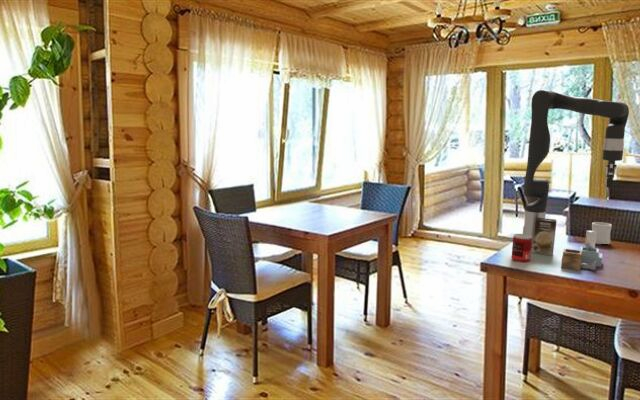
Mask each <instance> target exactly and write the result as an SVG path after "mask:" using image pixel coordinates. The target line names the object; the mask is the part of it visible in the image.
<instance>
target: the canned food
mask: <svg viewBox="0 0 640 400" xmlns="http://www.w3.org/2000/svg"><path fill="white" fill-rule="evenodd" d="M531 244H532V236H530V235H527V234H523V233H514V234H513V235H512V248H511V260H513V261H515V262H517V263H518V262H519V263H528V262H530V260H531V255H532V254H531V253H532V247H531Z"/></svg>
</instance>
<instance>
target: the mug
mask: <svg viewBox="0 0 640 400" xmlns="http://www.w3.org/2000/svg"><path fill="white" fill-rule="evenodd" d="M612 227H613V225H612V223H609V222H599V221H594V222H592V223H591V231H595V232H596V240H595V245H601V244H608V245H610V244H611V231H612Z"/></svg>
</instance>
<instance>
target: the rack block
mask: <svg viewBox="0 0 640 400" xmlns="http://www.w3.org/2000/svg"><path fill="white" fill-rule="evenodd" d="M584 249H585V246H580V249H579V250H581V251H582V260H581V262H582V263H589V264H592V260H595V261H596V267H599V268H601V267H602V262H603V261H602V260H603V253H600V252H599V251H600V249H599V248H595V250H594V251H586V250H584Z"/></svg>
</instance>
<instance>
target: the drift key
mask: <svg viewBox="0 0 640 400" xmlns="http://www.w3.org/2000/svg"><path fill="white" fill-rule="evenodd" d="M596 267H597V266H596V261H595V260H592V264H589V263H582V262H581V266H580V269H585V270H590V271H596Z"/></svg>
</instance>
